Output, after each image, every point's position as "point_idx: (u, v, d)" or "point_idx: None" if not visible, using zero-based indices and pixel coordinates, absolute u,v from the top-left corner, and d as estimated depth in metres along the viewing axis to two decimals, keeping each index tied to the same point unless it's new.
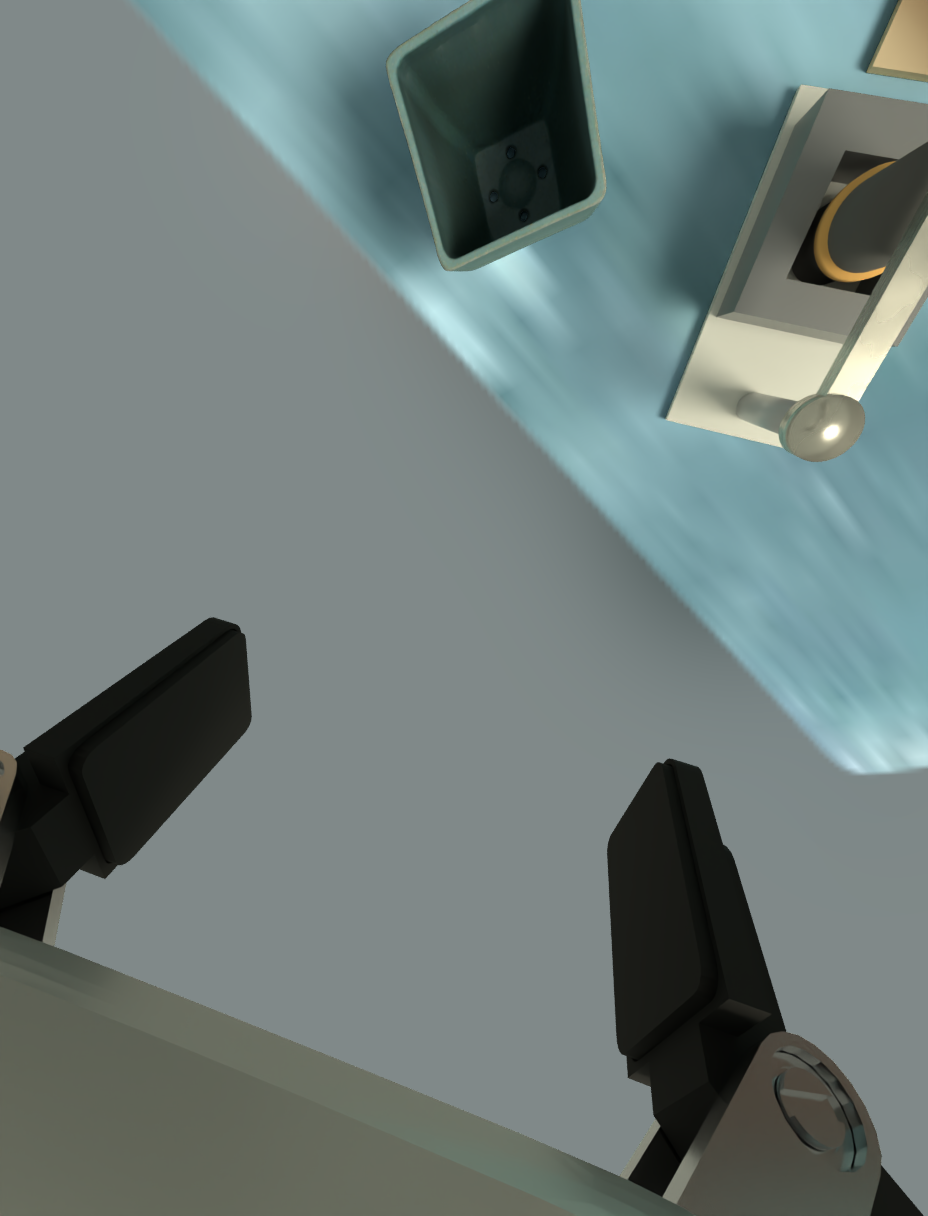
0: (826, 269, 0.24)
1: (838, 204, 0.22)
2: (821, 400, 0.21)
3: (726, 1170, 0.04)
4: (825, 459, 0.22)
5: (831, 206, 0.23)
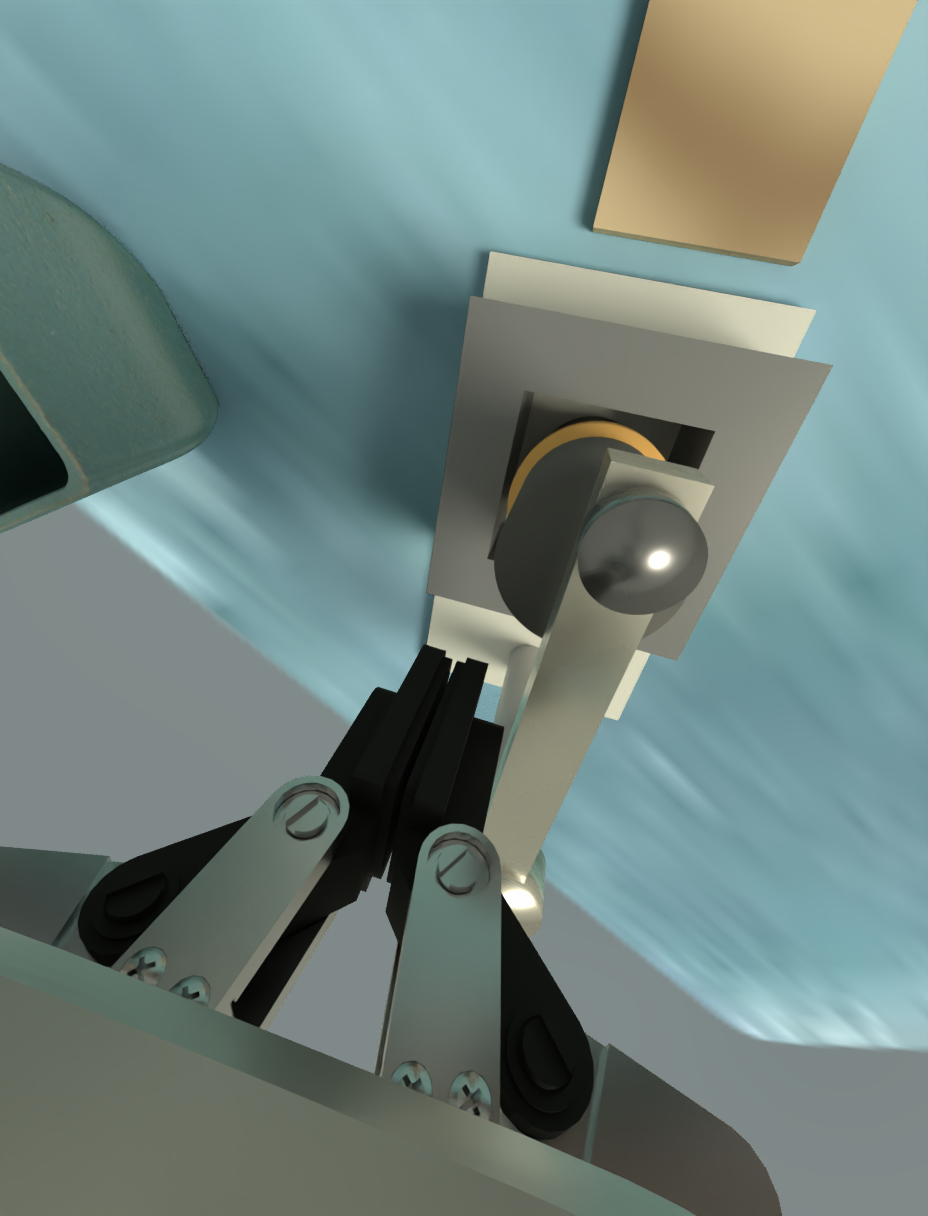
0: None
1: (521, 479, 0.13)
2: None
3: (416, 973, 0.05)
4: None
5: (513, 479, 0.13)
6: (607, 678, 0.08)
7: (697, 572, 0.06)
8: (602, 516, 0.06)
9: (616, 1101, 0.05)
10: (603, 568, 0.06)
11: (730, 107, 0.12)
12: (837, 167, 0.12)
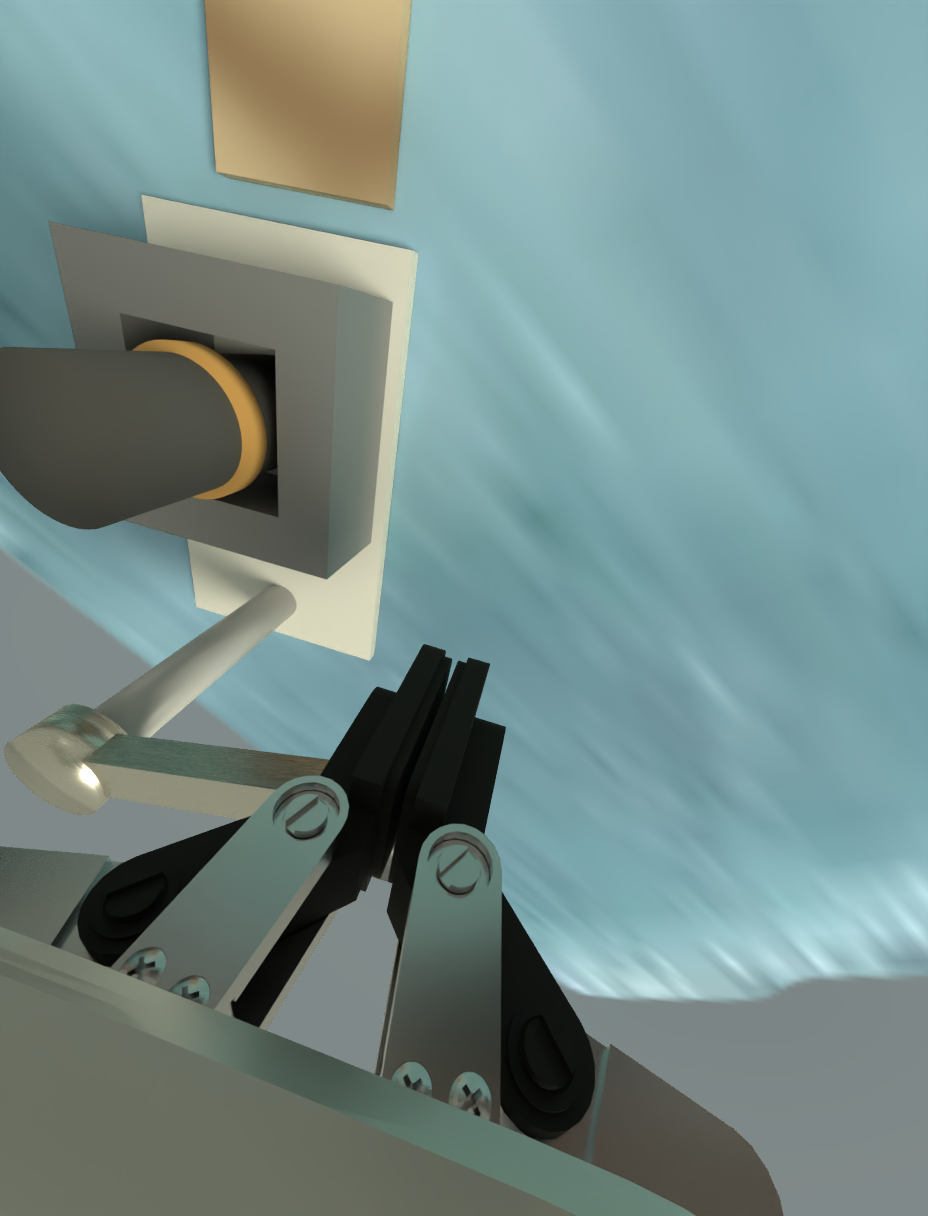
0: None
1: None
2: (65, 761, 0.12)
3: (416, 973, 0.05)
4: (31, 790, 0.14)
5: None
6: None
7: None
8: None
9: (617, 1102, 0.05)
10: None
11: (291, 58, 0.13)
12: (390, 114, 0.13)
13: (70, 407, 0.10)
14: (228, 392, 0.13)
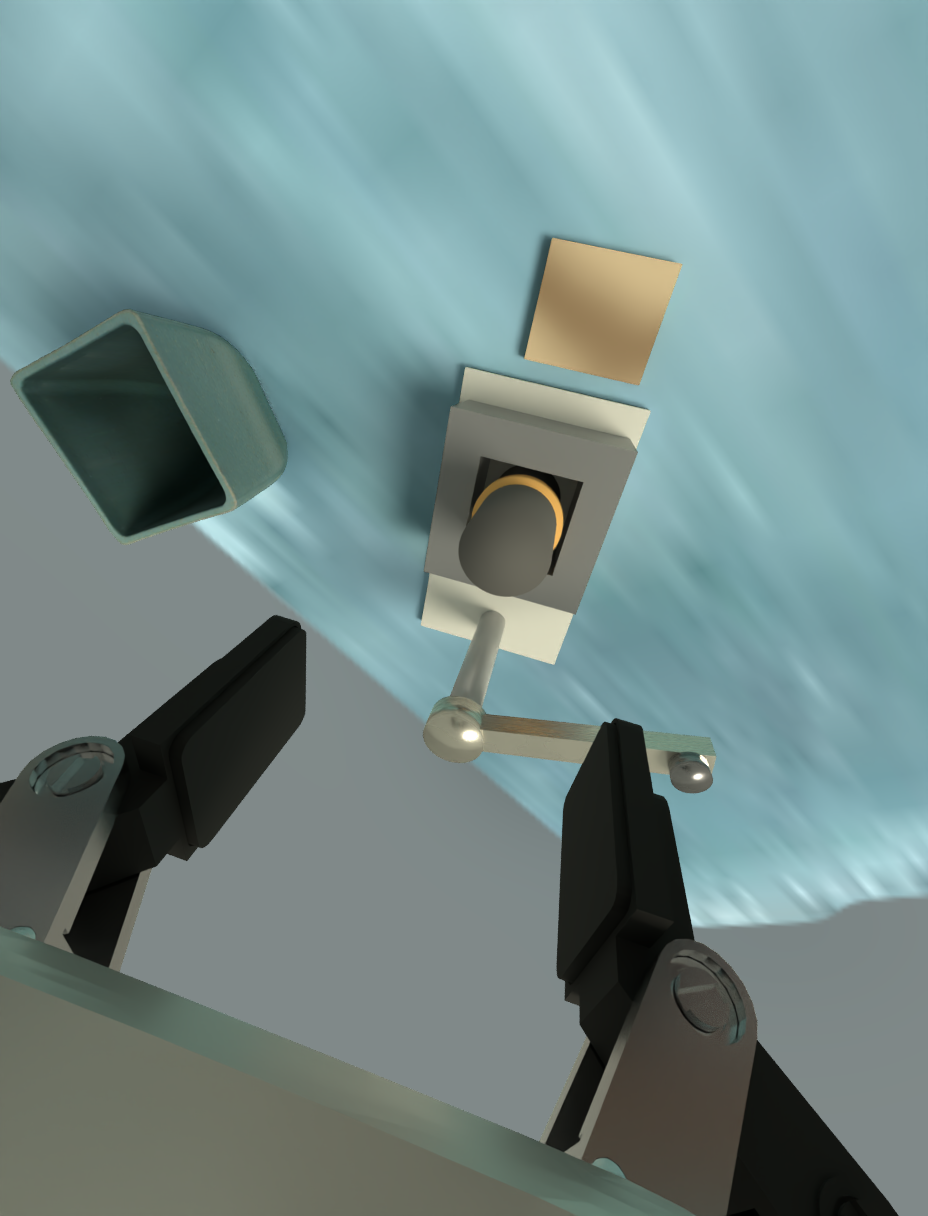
0: None
1: (478, 505, 0.23)
2: (474, 729, 0.21)
3: (636, 1075, 0.05)
4: (429, 747, 0.22)
5: (475, 505, 0.23)
6: None
7: (690, 792, 0.19)
8: (706, 769, 0.18)
9: None
10: (687, 772, 0.19)
11: (594, 305, 0.22)
12: (652, 339, 0.22)
13: (530, 538, 0.19)
14: (553, 507, 0.22)
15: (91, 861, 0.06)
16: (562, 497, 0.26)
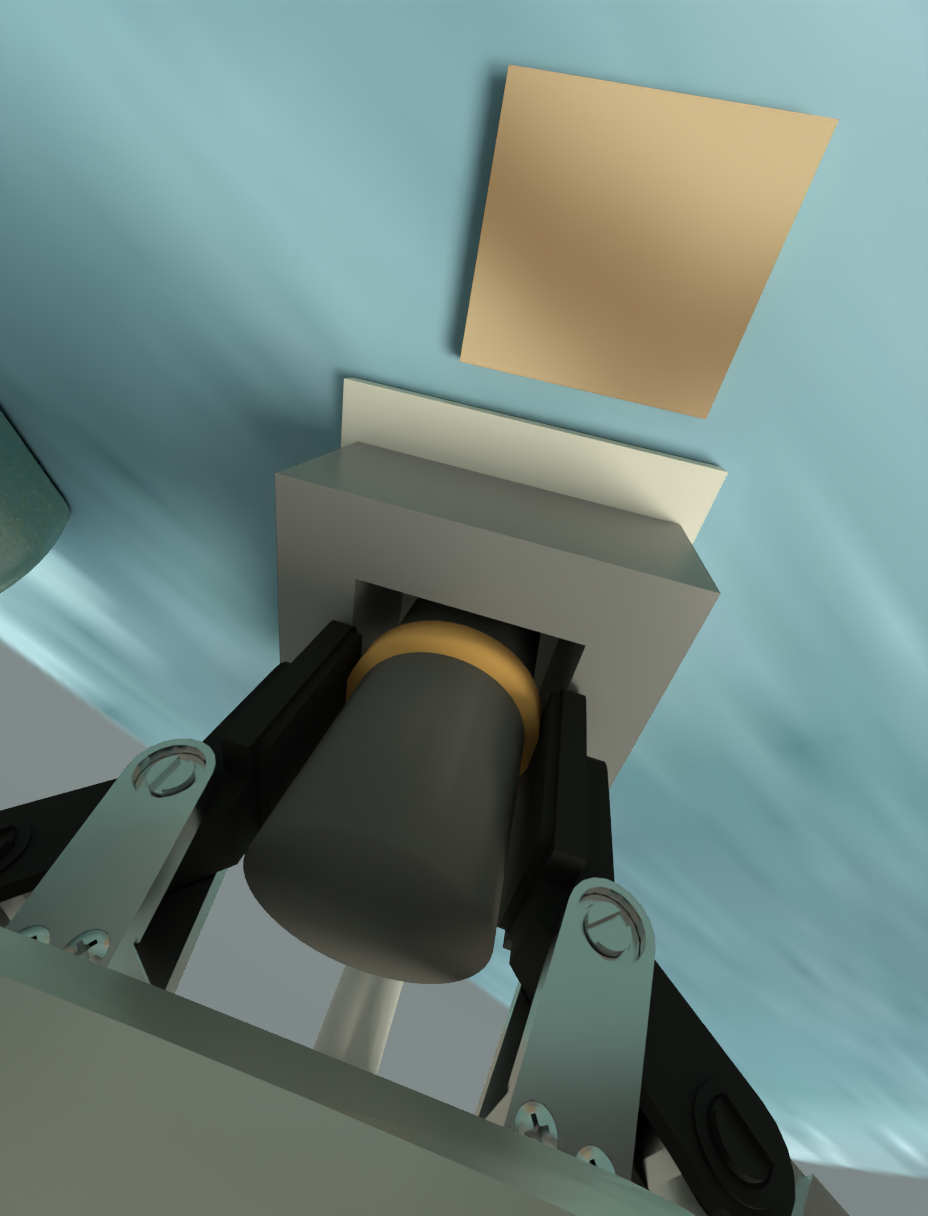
0: None
1: (355, 684, 0.10)
2: None
3: (554, 1016, 0.05)
4: None
5: None
6: None
7: None
8: None
9: None
10: None
11: (611, 238, 0.09)
12: (744, 316, 0.09)
13: (428, 898, 0.06)
14: (516, 701, 0.10)
15: (170, 870, 0.06)
16: None
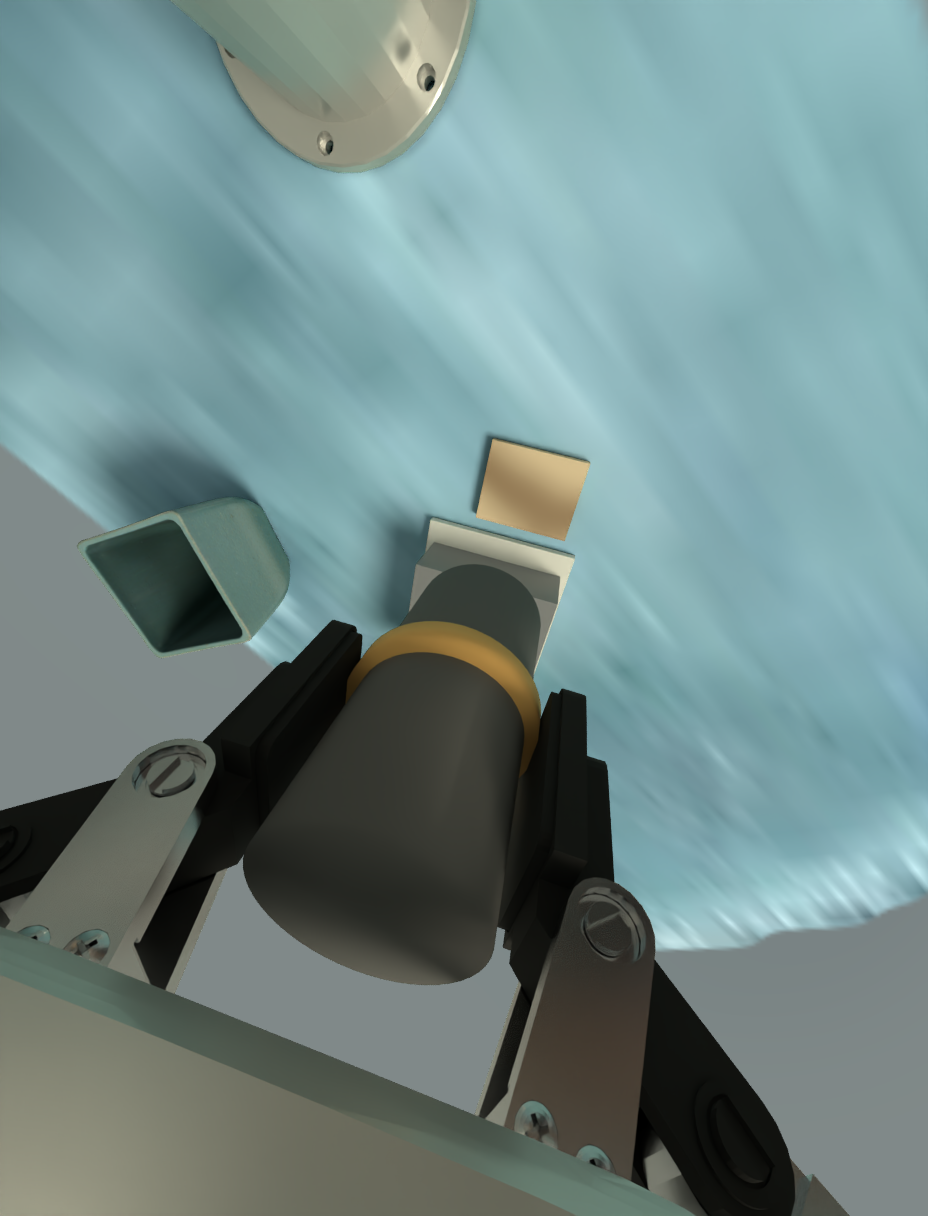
0: None
1: (355, 684, 0.10)
2: None
3: (554, 1015, 0.05)
4: None
5: None
6: None
7: None
8: None
9: None
10: None
11: (527, 485, 0.28)
12: (572, 511, 0.28)
13: (429, 895, 0.06)
14: (517, 701, 0.10)
15: (170, 870, 0.06)
16: None
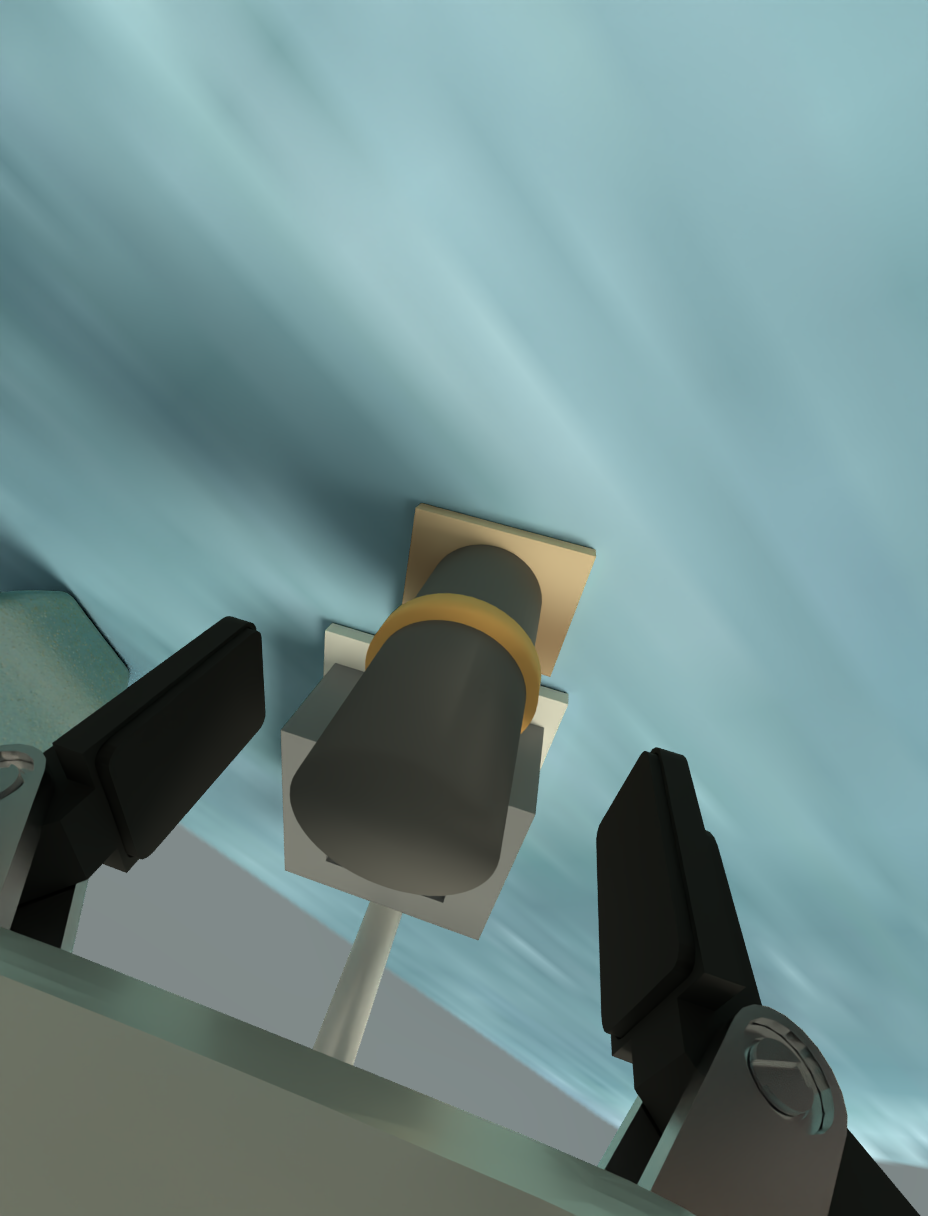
0: None
1: (376, 650, 0.12)
2: None
3: (702, 1142, 0.04)
4: None
5: None
6: None
7: None
8: None
9: None
10: None
11: None
12: (563, 631, 0.16)
13: (446, 811, 0.08)
14: (519, 663, 0.11)
15: (22, 866, 0.06)
16: None
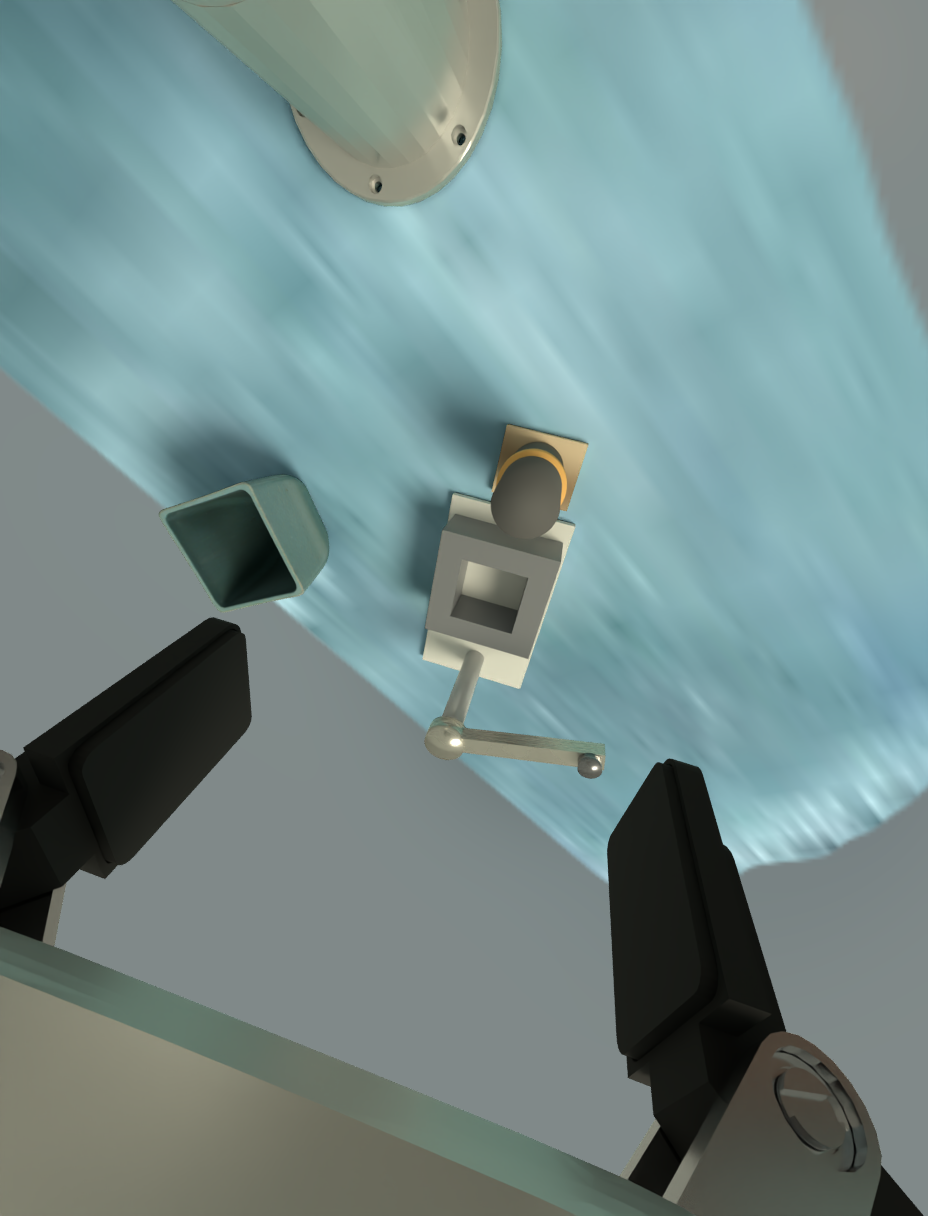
0: None
1: (502, 472, 0.29)
2: (457, 738, 0.33)
3: (726, 1170, 0.04)
4: (428, 750, 0.34)
5: (499, 472, 0.30)
6: (553, 761, 0.32)
7: (589, 777, 0.31)
8: (597, 763, 0.30)
9: None
10: (586, 765, 0.31)
11: None
12: (573, 485, 0.34)
13: (544, 493, 0.25)
14: (559, 474, 0.29)
15: None
16: (520, 577, 0.38)
